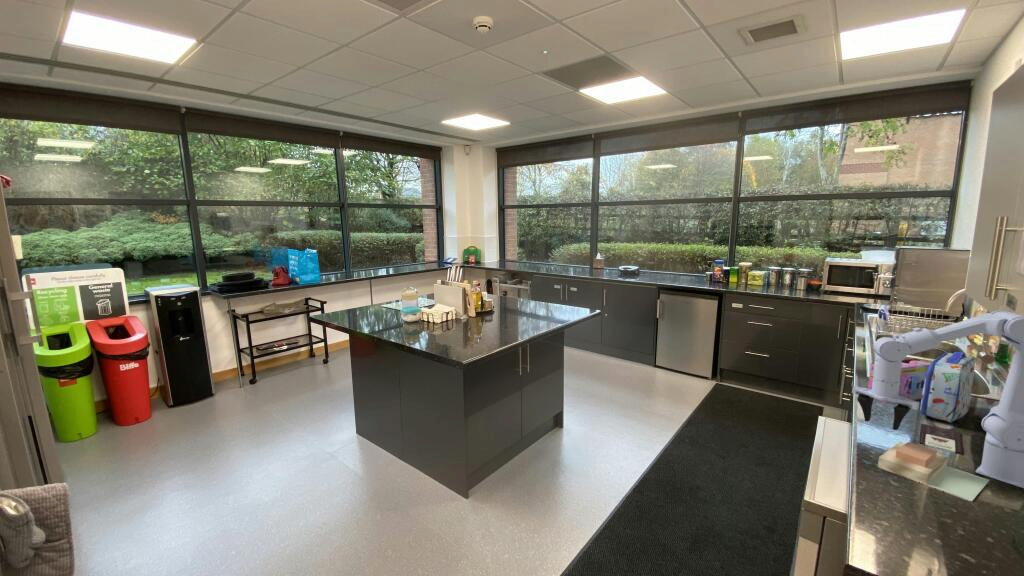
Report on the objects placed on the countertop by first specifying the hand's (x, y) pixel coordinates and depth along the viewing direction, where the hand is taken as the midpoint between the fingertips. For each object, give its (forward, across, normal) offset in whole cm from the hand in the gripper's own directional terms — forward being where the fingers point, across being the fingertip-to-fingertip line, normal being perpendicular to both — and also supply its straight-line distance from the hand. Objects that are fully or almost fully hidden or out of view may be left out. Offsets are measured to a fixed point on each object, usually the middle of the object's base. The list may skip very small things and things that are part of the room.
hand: (881, 424), depth 121 cm
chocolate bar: (+10, +6, +28) cm, 30 cm away
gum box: (+10, -13, +61) cm, 63 cm away
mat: (+9, +16, 0) cm, 19 cm away
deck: (+9, +8, 0) cm, 12 cm away
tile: (+6, +8, 0) cm, 10 cm away
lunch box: (+10, +2, +54) cm, 55 cm away
